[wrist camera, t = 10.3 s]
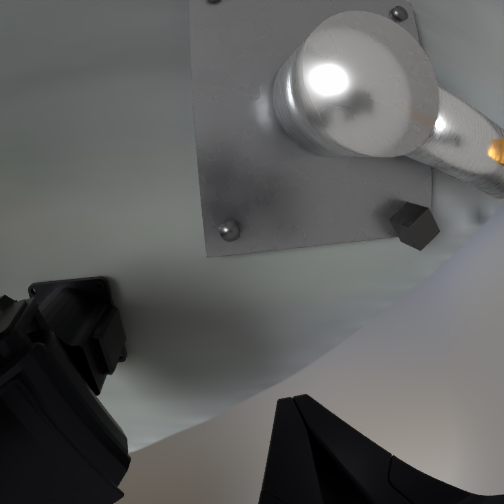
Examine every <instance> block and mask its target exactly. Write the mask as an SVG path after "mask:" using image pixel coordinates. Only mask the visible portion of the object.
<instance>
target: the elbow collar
mask: <svg viewBox="0 0 504 504" xmlns="http://www.w3.org/2000/svg"><path fill="white" fill-rule="evenodd" d="M273 104H274V109H275V112H276V115H277V118H278V120H279V122H280V124H281V126H282V127H283V129H284V130H285V131H286V133H287V134H288V135H289V136H290V137H291V138H292V139H293V140H294V141H295V142H296V143H297V144H299V145H300V146H302V147H303V148H305V149H307V150H309V151H311V152H313V153H316V154H319V155H324V156H351V157H396V156H401V155H404V156H406V157H409V158H411V159H414V160H416V161H419V162H421V163H423V164H426V165H428V166H430V167H433V168H435V169H437V170H439V171H442V172H444V173H446V174H448V175H450V176H453V177H455V178H457V179H459V180H461V181H463V182H465V183H467V184H469V185H471V186H473V187H475V188H477V189H479V190H481V191H483V192H485V193H487V194H489V195H491V196H493V197H495V198H504V129H503V128H501V127H500V126H499V125H498V124H496V123H495V122H493V121H492V120H491V119H489V118H488V117H487V116H485V115H484V114H482V113H481V112H479V111H478V110H477V109H475V108H474V107H472V106H471V105H469V104H468V103H466V102H465V101H463V100H461V99H460V98H458V97H457V96H455V95H454V94H452V93H450V92H449V91H447V90H445V89H444V88H442V87H440V86H439V85H438V83H437V79H436V75H435V72H434V69H433V67H432V64H431V62H430V60H429V58H428V56H427V55H426V53H425V52H424V50H423V48H422V47H421V46H420V45H419V43H418V42H417V41H416V40H415V39H414V38H413V37H412V35H411V34H409V33H408V32H407V31H406V30H405V29H404V28H402V27H401V26H400V25H398V24H397V23H395V22H393V21H392V20H390V19H388V18H386V17H384V16H381V15H378V14H375V13H372V12H366V11H346V12H342V13H338V14H335V15H333V16H331V17H329V18H328V19H326V20H325V21H323V22H322V23H321V24H320V25H319V26H318V27H317V28H316V29H315V30H314V31H313V32H312V33H311V34H310V35H309V36H308V37H307V39H306V40H305V41H304V42H303V43H302V44H301V45H300V46H299V47H298V48H297V49H296V51H295V52H294V53H293V54H292V55H291V56H290V57H289V58H288V60H287V61H286V62H285V63H284V64H283V65H282V67H281V68H280V70H279V72H278V74H277V76H276V78H275V82H274V86H273Z"/></svg>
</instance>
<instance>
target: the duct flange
mask: <svg viewBox="0 0 504 504" xmlns="http://www.w3.org/2000/svg"><path fill="white" fill-rule="evenodd" d="M346 11H366V12H372V13H375V14H378V15H381V16H384V17H386V18H388V19H390V20H392V21H393V22H395V23H397V24H398V25H400V26H401V27H402V28H404V29H405V30H406V31H407V32H408V33H409V34H411V35H412V37H413V38H414V39H415V40H416V41H417V42H418V43H419V45H420V42H419V37H418V32H417V27H416V23H415V18H414V14H413V10H412V5H411V3H409V2H406V1H402V0H189V24H190V52H191V73H192V92H193V108H194V123H195V137H196V150H197V162H198V174H199V185H200V196H201V206H202V216H203V226H204V235H205V244H206V253H207V257H216V256H225V255H234V254H243V253H252V252H262V251H271V250H280V249H289V248H298V247H307V246H317V245H326V244H335V243H344V242H353V241H362V240H372V239H381V238H390V237H399V239H400V241H401V242H403V243H405V244H407V245H409V246H411V247H413V248H415V249H417V250H420V251H421V250H422V249H423V248H424V247H425V246H426V245H427V244H428V243H429V242H430V241H431V240H432V239H433V238H434V237H435V236H436V235H437V234H438V233H439V232H440V230H439V228H438V226H437V224H436V222H435V220H434V218H433V215H432V213H431V203H432V167H430V166H428V165H426V164H423V163H421V162H419V161H416V160H414V159H411V158H409V157H406V156H404V155H401V156H396V157H351V156H324V155H319V154H316V153H313V152H311V151H309V150H307V149H305V148H303V147H302V146H300V145H299V144H297V143H296V142H295V141H294V140H293V139H292V138H291V137H290V136H289V135H288V134H287V133H286V131H285V130H284V129H283V127H282V126H281V124H280V122H279V120H278V118H277V115H276V112H275V109H274V104H273V86H274V82H275V78H276V76H277V74H278V72H279V70H280V68H281V67H282V65H283V64H284V63H285V62H286V61H287V60H288V58H289V57H290V56H291V55H292V54H293V53H294V52H295V51H296V49H297V48H298V47H299V46H300V45H301V44H302V43H303V42H304V41H305V40H306V39H307V37H308V36H309V35H310V34H311V33H312V32H313V31H314V30H315V29H316V28H317V27H318V26H319V25H320V24H321V23H322V22H323V21H325V20H326V19H328V18H329V17H331V16H333V15H335V14H338V13H342V12H346Z"/></svg>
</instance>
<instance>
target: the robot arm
mask: <svg viewBox="0 0 504 504" xmlns="http://www.w3.org/2000/svg"><path fill="white" fill-rule="evenodd" d="M98 282H101V283H102V284H103V285H104V287H100V286H99V284H98ZM33 289H35V290H36V293H35V292H34V290H33ZM28 292H29V296H30V299H27V300H25V299H24V300H21V301H18V302H17V300H13V299H11V298H9V297H8V296H6V295H4V296H1V297H0V504H113V503H115V502H116V501H118V500H119V499H121V498H122V497H123V496H124V493H123V492H122V491H121V490H120V489H119V488H118V485H119V484H120V482H121V481H122V479H123V477H124V476H125V474H126V472H127V470H128V468H129V464H130V461H131V458H130V456H129V455H128V444H127V438H126V436H125V434H124V432H123V430H122V429H121V427H120V426H119V425H118V424H117V423H116V421H115V420H114V419H113V418H112V416H111V415H110V414H109V413H108V411H107V410H106V409H105V407H104V406H103V405H102V403H101V402H100V401H99V399H98V398H97V397H96V396H98V395H99V394H100V392H101V390H102V387H103V384H104V381H105V379H106V376H107V375H112V374H113V372H114V371H115V368H116V365H117V363H118V362H124V361H125V360H126V357H127V352H126V348H125V345H124V343H125V341H126V337H125V333H124V330H123V326H122V322H121V318H120V314H119V310H118V308H117V307H116V306H115V305H114V304H113V300H112V296H111V292H110V288H109V283H108V281H107V279H106V278H104V277H90V278H80V279H70V280H60V281H50V282H40V283H33V284H31V285H30V286H29V288H28ZM120 354H121V355H122V356H120ZM258 504H504V495H494V496H484V495H477V494H473V493H470V492H467V491H464V490H461V489H459V488H457V487H454V486H452V485H449V484H447V483H445V482H442V481H440V480H438V479H435V478H433V477H431V476H429V475H427V474H425V473H423V472H421V471H419V470H417V469H415V468H413V467H412V466H410V465H408V464H407V463H405V462H403V461H402V460H400V459H398V458H397V457H396V456H394V455H393V456H392V454H391V453H389V452H388V451H386V450H385V449H383V448H382V447H380V446H378V445H377V444H376V443H374V442H373V441H371V440H370V439H369V438H367V437H366V436H364V435H363V434H361V433H360V432H358V431H357V430H356V429H354V428H353V427H351V426H350V425H348V424H347V423H346V422H344V421H343V420H341V419H340V418H339V417H337V416H336V415H335V414H333V413H332V412H330V411H329V410H328V409H326V408H325V407H323V406H322V405H321V404H319V403H318V402H317V401H316V400H314V399H313V398H311V397H310V396H309V395H307V394H303V395H298V396H294V397H293V398H291V397H287V398H282V399H278V401H277V406H276V412H275V418H274V424H273V429H272V435H271V441H270V446H269V452H268V457H267V463H266V468H265V473H264V479H263V483H262V490H261V493H260V497H259V502H258Z"/></svg>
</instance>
